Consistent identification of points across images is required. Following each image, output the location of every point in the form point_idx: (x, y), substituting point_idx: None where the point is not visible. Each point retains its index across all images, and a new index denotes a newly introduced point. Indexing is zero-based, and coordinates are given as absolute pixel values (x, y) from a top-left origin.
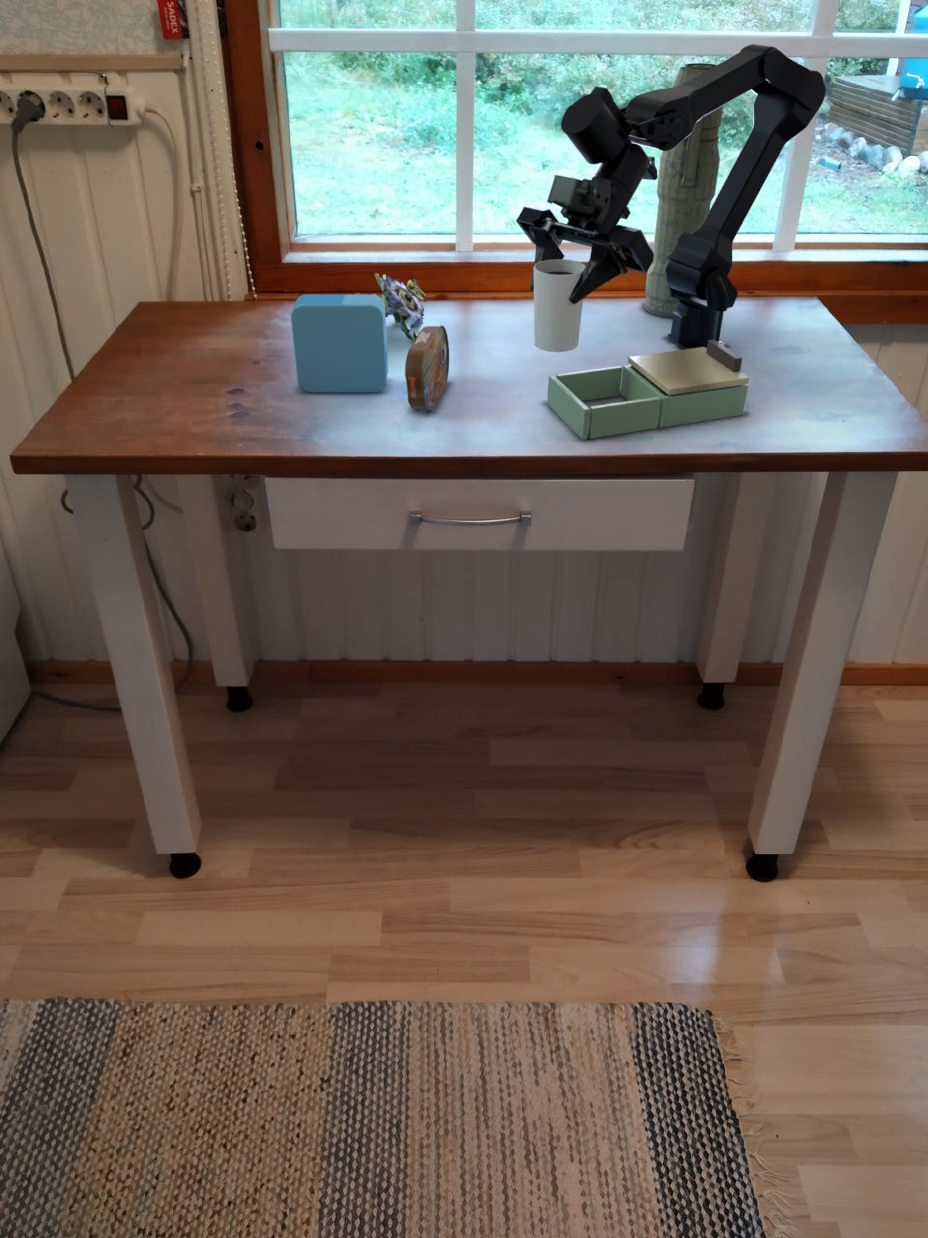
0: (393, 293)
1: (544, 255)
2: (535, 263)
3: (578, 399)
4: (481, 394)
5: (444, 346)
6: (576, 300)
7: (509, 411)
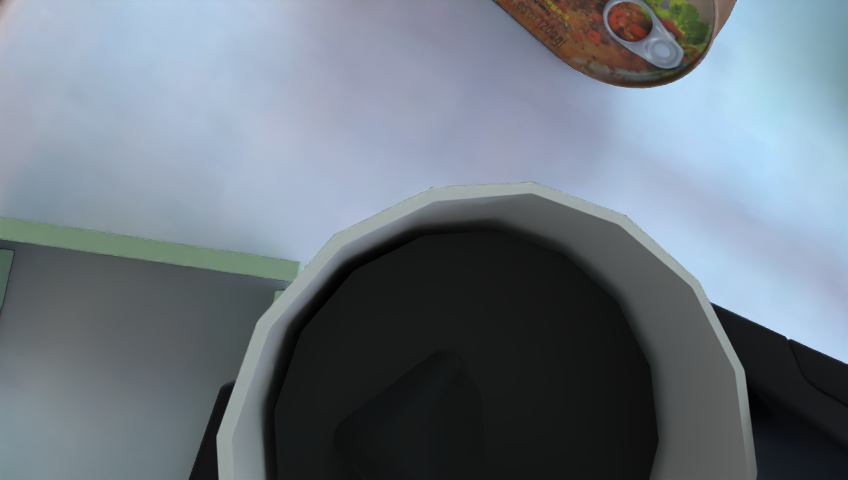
0: None
1: (805, 436)
2: (763, 336)
3: (30, 239)
4: (465, 125)
5: (659, 30)
6: None
7: (314, 133)
